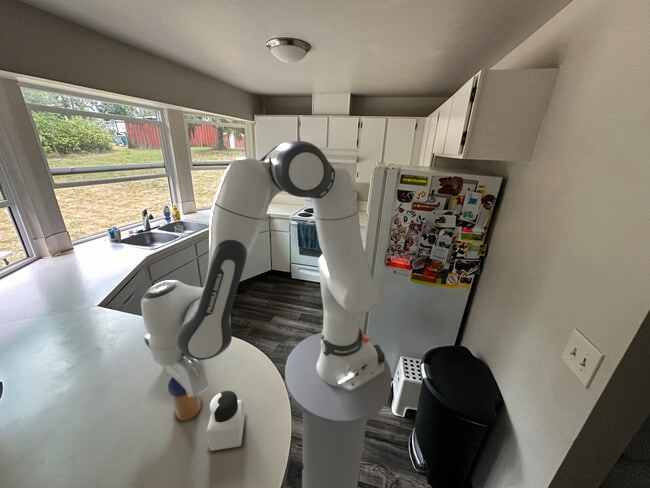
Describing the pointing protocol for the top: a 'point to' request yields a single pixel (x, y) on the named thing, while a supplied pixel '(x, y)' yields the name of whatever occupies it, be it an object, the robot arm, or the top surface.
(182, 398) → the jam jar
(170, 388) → the jar lid
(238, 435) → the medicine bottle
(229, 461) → the top surface
